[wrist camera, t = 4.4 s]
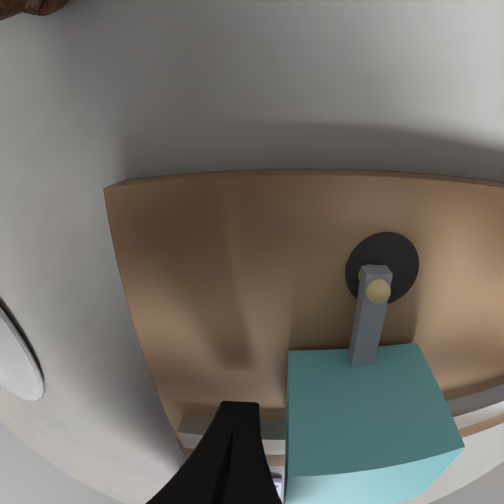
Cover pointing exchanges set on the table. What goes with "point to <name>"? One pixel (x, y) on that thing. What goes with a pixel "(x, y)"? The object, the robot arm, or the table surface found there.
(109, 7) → the table surface
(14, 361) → the chalice
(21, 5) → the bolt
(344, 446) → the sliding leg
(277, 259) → the board
